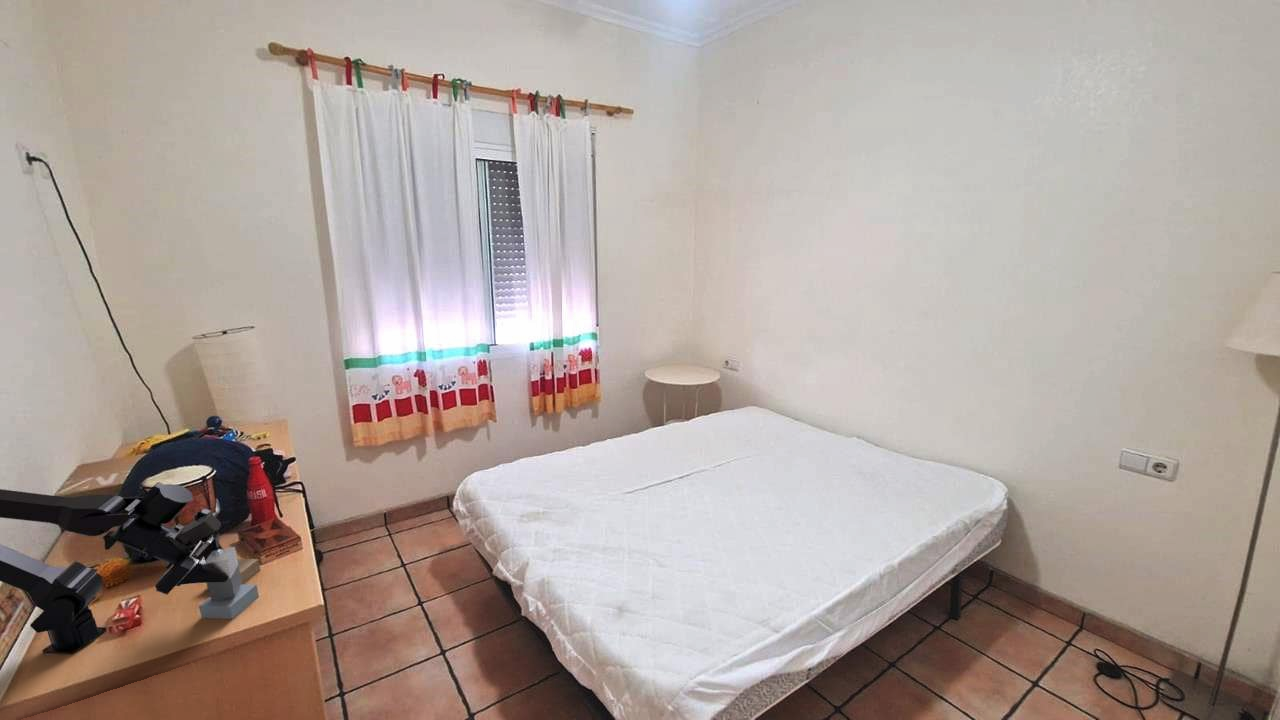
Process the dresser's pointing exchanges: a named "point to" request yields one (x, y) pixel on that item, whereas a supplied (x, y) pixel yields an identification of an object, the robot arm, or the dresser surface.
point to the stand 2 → (229, 603)
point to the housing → (227, 565)
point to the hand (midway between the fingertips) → (231, 572)
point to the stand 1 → (247, 568)
